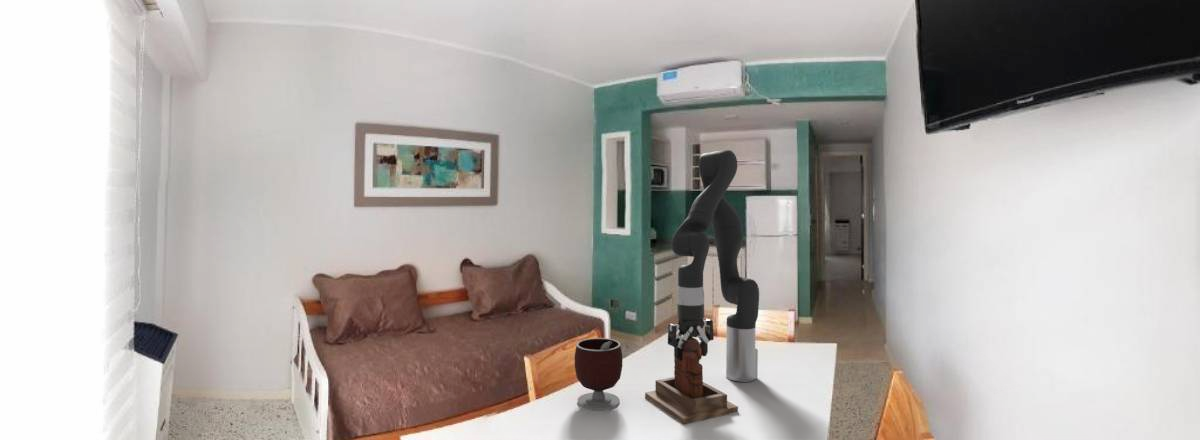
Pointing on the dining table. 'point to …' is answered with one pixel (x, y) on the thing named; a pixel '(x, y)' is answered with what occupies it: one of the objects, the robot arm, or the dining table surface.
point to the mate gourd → (598, 372)
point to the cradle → (690, 402)
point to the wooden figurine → (689, 370)
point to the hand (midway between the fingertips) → (691, 357)
